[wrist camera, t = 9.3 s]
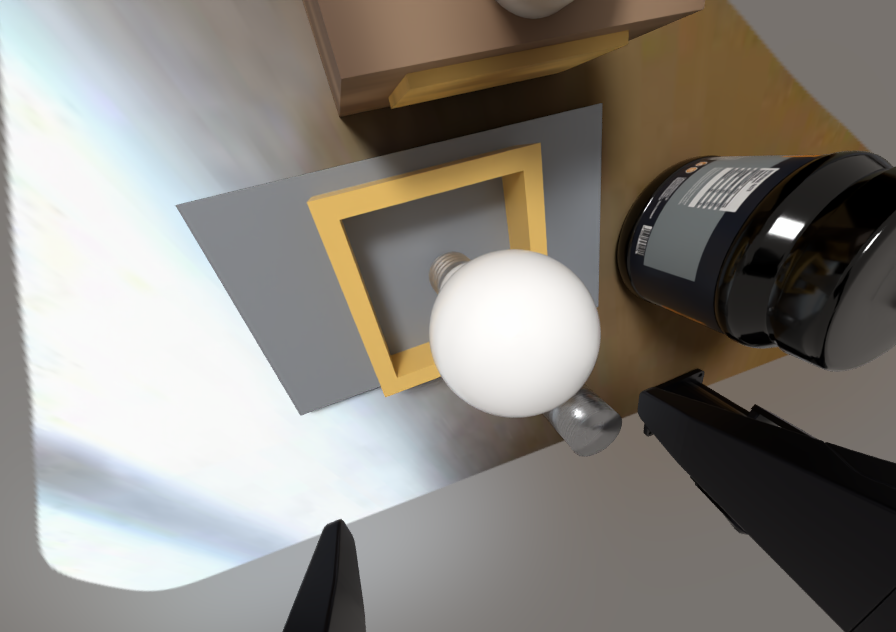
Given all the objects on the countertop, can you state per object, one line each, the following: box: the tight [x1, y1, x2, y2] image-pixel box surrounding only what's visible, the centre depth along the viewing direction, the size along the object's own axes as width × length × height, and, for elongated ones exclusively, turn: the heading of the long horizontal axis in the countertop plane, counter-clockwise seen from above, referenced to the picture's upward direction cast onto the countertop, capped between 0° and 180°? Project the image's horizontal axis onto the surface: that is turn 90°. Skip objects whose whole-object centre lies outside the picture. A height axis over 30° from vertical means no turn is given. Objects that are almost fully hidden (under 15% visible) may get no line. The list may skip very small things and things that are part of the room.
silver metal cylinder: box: [543, 384, 622, 456], centre depth 25 cm, size 4×4×6 cm
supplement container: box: [618, 151, 896, 372], centre depth 19 cm, size 10×10×12 cm
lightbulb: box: [429, 249, 601, 418], centre depth 15 cm, size 6×6×11 cm
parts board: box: [176, 103, 602, 415], centre depth 18 cm, size 22×13×4 cm, turn 102°
